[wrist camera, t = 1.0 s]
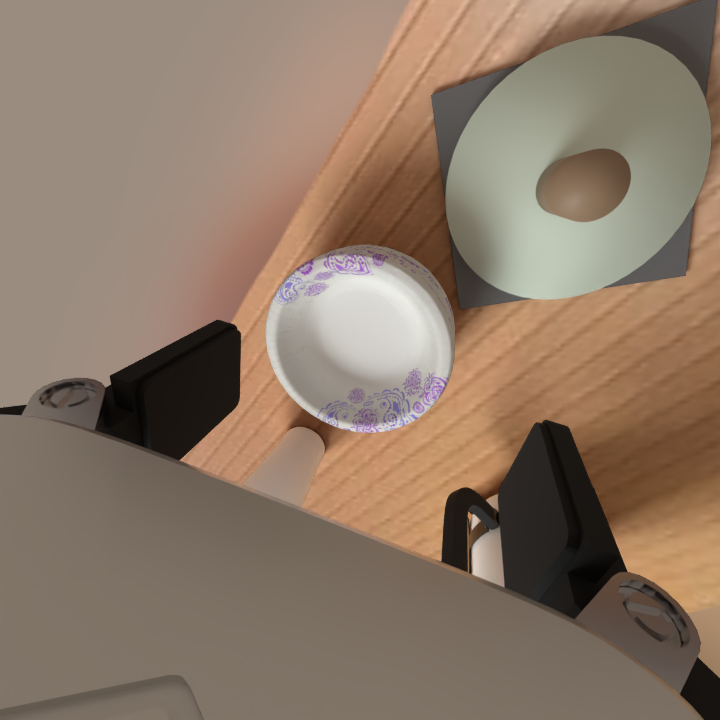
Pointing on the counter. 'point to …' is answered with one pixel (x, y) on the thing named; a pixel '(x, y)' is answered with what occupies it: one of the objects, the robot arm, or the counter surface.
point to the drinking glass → (289, 466)
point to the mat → (457, 105)
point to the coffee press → (473, 535)
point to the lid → (578, 167)
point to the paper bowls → (362, 338)
